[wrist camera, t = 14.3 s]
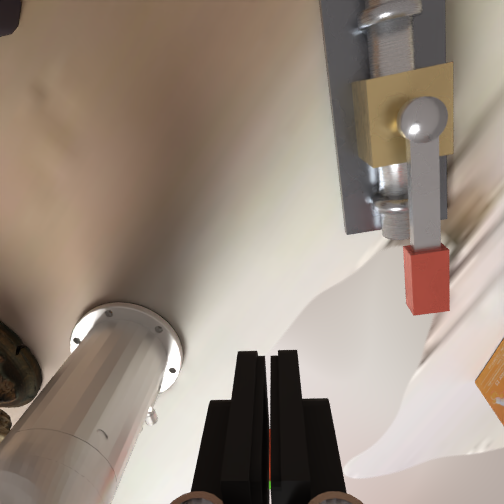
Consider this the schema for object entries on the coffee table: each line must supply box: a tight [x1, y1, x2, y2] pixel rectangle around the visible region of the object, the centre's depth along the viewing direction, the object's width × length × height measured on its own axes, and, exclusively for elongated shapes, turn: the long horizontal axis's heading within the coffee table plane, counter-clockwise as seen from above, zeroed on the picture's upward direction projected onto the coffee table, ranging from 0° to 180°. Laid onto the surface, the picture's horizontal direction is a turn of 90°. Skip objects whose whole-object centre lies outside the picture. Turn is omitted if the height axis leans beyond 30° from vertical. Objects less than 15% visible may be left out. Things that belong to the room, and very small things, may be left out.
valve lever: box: [396, 96, 450, 315], centre depth 27 cm, size 3×15×2 cm, turn 11°
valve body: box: [319, 0, 453, 240], centre depth 29 cm, size 20×9×8 cm, turn 11°
